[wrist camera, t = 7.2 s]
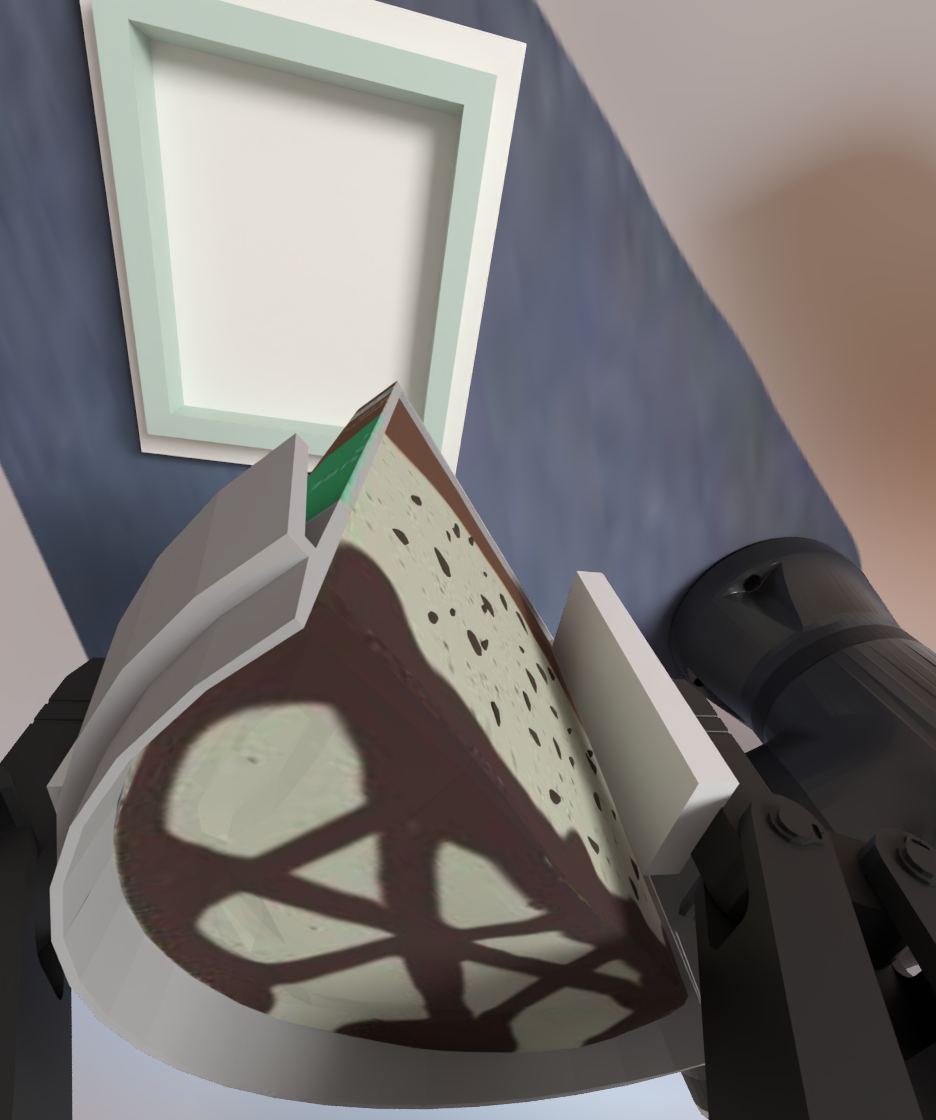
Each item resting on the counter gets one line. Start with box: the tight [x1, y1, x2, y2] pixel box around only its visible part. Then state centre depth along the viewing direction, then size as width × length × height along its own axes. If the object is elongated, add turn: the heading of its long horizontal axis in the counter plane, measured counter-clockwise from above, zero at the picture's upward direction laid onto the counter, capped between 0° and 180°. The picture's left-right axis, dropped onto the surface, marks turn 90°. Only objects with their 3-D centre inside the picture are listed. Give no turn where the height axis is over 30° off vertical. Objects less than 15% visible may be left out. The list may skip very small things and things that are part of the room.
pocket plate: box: [80, 0, 526, 475], centre depth 26 cm, size 18×21×3 cm
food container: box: [50, 381, 705, 1109], centre depth 11 cm, size 12×6×10 cm, turn 29°
